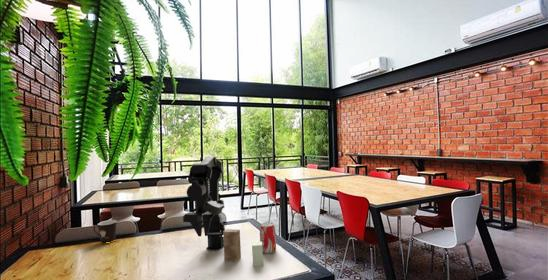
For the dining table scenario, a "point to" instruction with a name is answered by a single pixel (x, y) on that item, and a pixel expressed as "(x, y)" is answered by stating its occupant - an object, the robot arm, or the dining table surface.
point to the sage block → (257, 253)
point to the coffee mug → (106, 231)
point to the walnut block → (232, 245)
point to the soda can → (268, 237)
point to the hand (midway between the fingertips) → (203, 234)
